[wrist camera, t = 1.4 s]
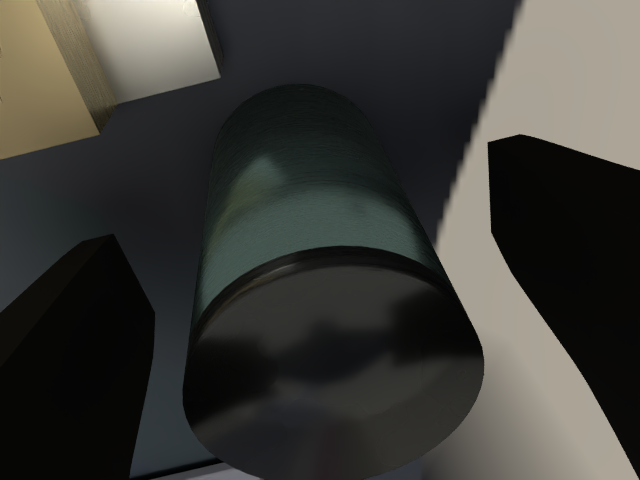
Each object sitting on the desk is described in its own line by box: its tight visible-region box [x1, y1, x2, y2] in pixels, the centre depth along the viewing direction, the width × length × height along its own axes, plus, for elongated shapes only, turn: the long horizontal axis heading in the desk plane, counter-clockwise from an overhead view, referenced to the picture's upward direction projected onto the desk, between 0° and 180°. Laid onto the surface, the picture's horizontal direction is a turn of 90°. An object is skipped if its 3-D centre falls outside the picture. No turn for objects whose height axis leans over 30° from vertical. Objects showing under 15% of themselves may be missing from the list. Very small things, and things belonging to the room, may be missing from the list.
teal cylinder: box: [182, 84, 484, 480], centre depth 10 cm, size 4×4×7 cm
